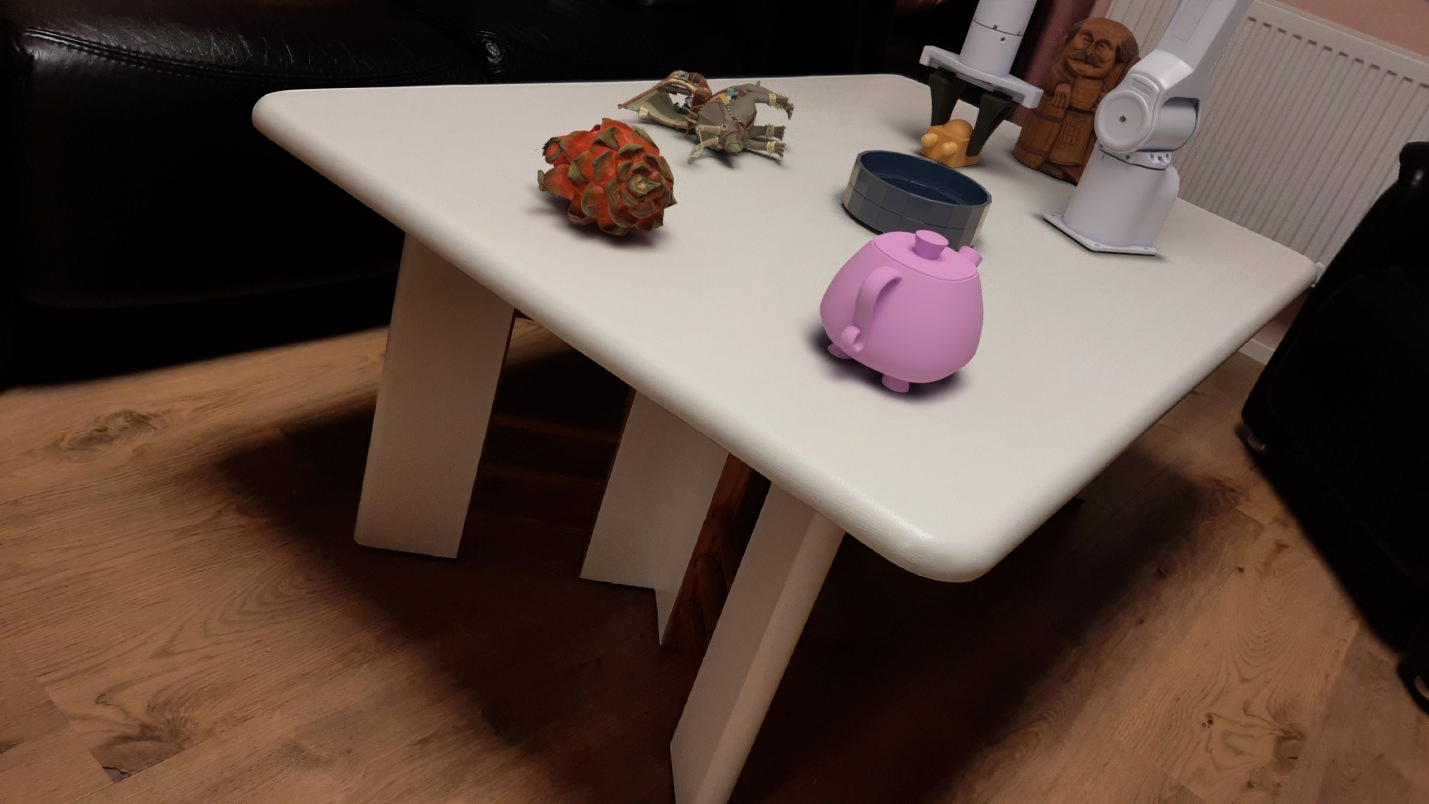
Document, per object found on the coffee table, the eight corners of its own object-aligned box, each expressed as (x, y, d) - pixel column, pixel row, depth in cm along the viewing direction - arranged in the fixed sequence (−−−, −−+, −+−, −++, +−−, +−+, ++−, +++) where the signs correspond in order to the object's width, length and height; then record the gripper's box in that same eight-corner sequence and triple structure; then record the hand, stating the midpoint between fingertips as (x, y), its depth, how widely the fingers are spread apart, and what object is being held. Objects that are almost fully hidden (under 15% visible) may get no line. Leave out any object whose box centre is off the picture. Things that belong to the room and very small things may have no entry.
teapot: (769, 344, 68) (810, 214, 64) (887, 303, 79) (929, 188, 75) (898, 425, 63) (952, 290, 59) (1004, 368, 74) (1057, 251, 70)
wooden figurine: (998, 155, 127) (1058, 5, 118) (1016, 149, 132) (1075, 4, 123) (1088, 192, 123) (1158, 39, 114) (1103, 184, 128) (1171, 37, 119)
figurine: (799, 135, 93) (614, 90, 92) (781, 197, 96) (603, 154, 95) (796, 69, 110) (640, 30, 108) (781, 124, 113) (629, 86, 111)
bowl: (925, 199, 104) (940, 156, 102) (1000, 257, 95) (1019, 211, 93) (817, 189, 99) (832, 144, 96) (886, 250, 89) (904, 201, 87)
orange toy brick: (945, 149, 123) (959, 111, 121) (976, 163, 121) (991, 125, 119) (911, 154, 118) (925, 115, 115) (944, 169, 116) (958, 129, 113)
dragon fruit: (653, 281, 76) (536, 236, 82) (717, 200, 79) (599, 163, 85) (616, 199, 69) (491, 156, 75) (687, 114, 72) (561, 80, 78)
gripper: (1071, 49, 112) (1022, 168, 119) (959, 7, 119) (918, 121, 126) (1045, 50, 107) (995, 174, 114) (928, 5, 114) (888, 125, 121)
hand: (953, 147), depth 119 cm, fingers closed on orange toy brick, 4 cm apart
